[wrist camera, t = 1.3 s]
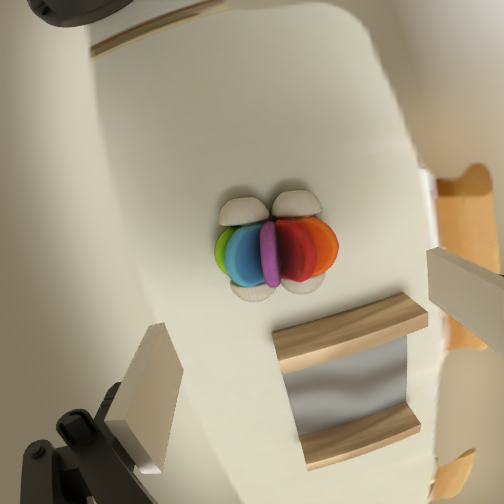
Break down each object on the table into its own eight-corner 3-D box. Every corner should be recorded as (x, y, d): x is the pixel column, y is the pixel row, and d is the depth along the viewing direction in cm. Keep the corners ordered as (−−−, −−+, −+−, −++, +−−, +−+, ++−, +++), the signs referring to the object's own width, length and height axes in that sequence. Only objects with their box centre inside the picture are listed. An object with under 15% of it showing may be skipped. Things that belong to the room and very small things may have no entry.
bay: (271, 332, 30) (278, 360, 25) (403, 292, 30) (428, 312, 25) (300, 441, 34) (308, 470, 30) (404, 407, 34) (419, 431, 29)
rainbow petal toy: (328, 277, 29) (355, 310, 22) (223, 293, 29) (221, 331, 22) (320, 185, 27) (349, 191, 20) (208, 200, 27) (199, 211, 20)
